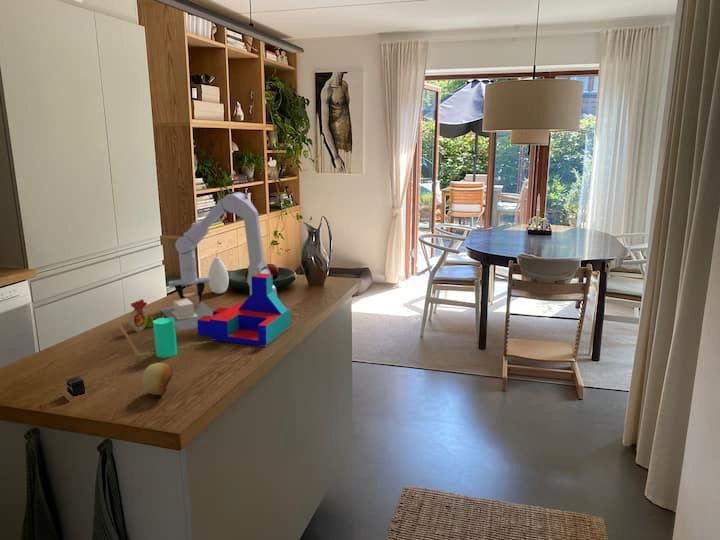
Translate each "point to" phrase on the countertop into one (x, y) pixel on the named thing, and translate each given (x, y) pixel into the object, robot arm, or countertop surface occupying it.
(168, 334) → the candle
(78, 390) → the black block
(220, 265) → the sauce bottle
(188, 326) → the baseplate
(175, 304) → the cream brick
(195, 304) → the terracotta brick
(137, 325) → the bird rattle
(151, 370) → the fruit
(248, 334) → the building blocks toy
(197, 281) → the robot arm
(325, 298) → the countertop surface
